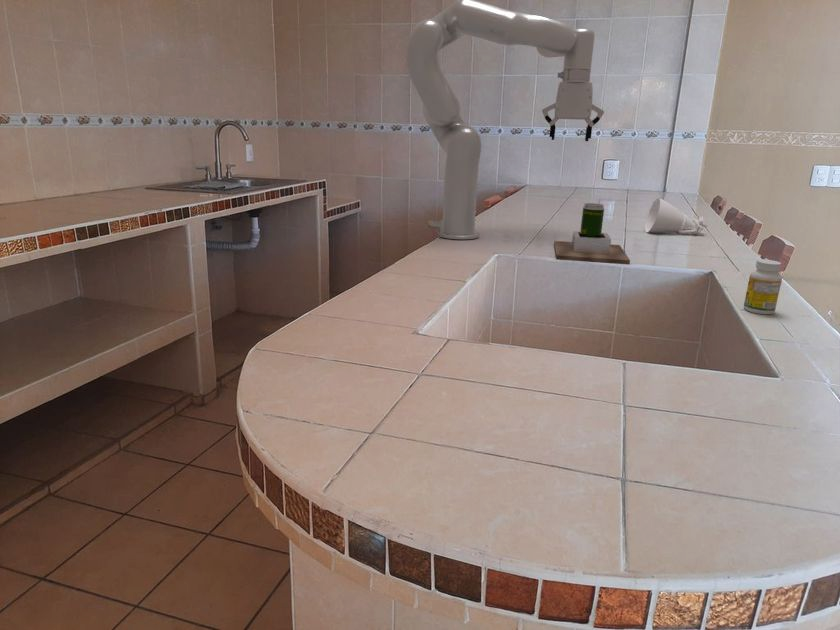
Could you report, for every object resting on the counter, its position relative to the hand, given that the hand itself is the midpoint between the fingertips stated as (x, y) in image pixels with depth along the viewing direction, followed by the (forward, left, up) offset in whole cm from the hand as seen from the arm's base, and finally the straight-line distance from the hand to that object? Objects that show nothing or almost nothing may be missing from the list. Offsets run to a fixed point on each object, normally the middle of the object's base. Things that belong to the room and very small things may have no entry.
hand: (569, 140), depth 174 cm
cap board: (+7, -23, -28) cm, 37 cm away
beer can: (+7, -23, -28) cm, 36 cm away
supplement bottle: (+35, -67, -28) cm, 81 cm away
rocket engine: (+38, +18, -29) cm, 50 cm away
